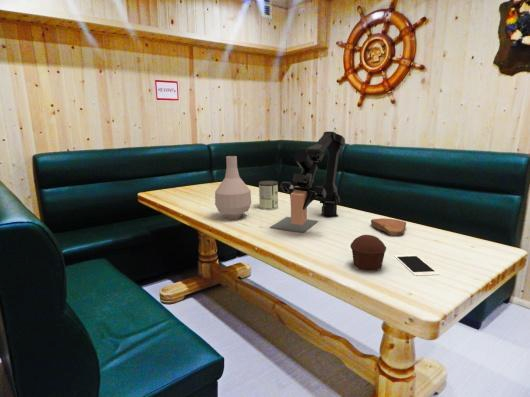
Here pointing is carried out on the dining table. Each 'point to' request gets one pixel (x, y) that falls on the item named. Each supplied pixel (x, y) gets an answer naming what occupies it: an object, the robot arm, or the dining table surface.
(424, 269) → the cell phone
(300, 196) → the terracotta block
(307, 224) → the charcoal mat
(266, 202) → the coffee can
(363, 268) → the muffin
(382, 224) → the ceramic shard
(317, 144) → the robot arm
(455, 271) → the dining table surface
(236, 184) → the vase
